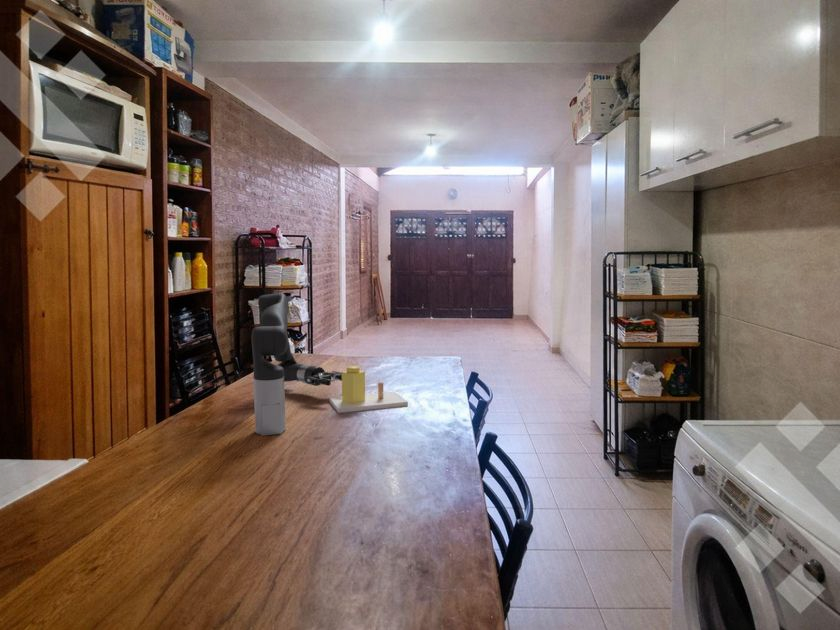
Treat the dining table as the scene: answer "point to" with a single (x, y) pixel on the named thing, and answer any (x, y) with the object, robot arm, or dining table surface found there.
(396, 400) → the plate
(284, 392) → the robot arm
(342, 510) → the dining table surface
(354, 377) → the tall yellow stud brick
